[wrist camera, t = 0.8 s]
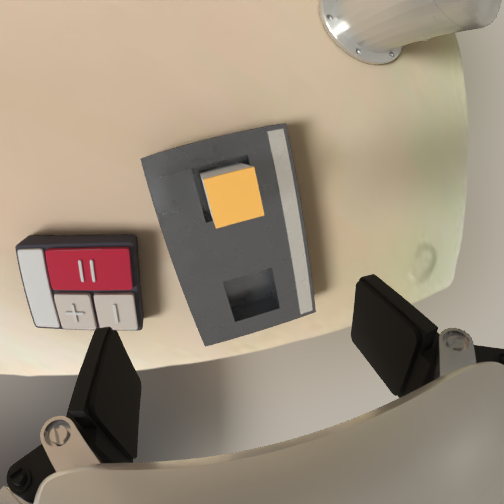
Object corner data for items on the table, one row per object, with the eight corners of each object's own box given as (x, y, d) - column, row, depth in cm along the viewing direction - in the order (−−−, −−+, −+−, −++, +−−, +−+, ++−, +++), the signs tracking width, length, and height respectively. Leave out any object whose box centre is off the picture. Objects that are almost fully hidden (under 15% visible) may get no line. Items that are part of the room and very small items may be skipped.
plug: (236, 161, 28) (254, 166, 21) (245, 197, 30) (264, 215, 23) (199, 171, 28) (203, 179, 21) (208, 207, 30) (216, 228, 22)
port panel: (275, 125, 28) (286, 123, 25) (305, 298, 37) (316, 312, 34) (146, 157, 27) (140, 158, 23) (202, 329, 35) (205, 347, 32)
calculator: (142, 334, 30) (33, 331, 26) (144, 314, 34) (43, 313, 30) (133, 244, 26) (11, 247, 22) (137, 231, 30) (26, 235, 26)
